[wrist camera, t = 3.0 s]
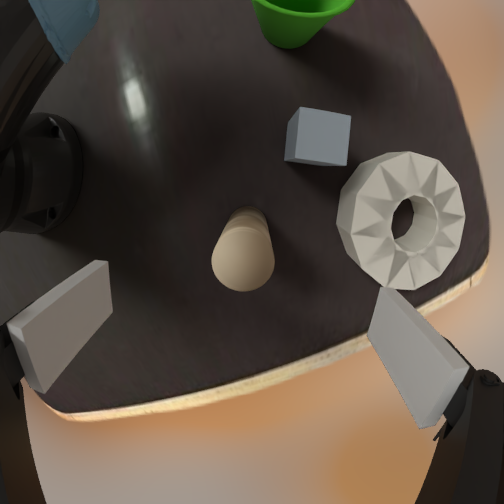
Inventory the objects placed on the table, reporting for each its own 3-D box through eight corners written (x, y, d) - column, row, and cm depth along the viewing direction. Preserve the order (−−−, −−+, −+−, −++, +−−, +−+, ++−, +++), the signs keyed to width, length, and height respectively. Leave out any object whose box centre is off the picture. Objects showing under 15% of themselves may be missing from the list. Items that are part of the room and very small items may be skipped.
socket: (328, 267, 31) (340, 285, 26) (345, 143, 27) (362, 139, 23) (426, 276, 31) (447, 291, 27) (446, 169, 28) (471, 171, 23)
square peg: (284, 160, 28) (294, 158, 20) (287, 122, 27) (299, 106, 19) (322, 166, 28) (346, 165, 20) (326, 128, 27) (350, 116, 19)
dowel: (226, 242, 30) (210, 288, 19) (229, 204, 29) (213, 228, 18) (264, 245, 31) (270, 293, 19) (269, 208, 29) (278, 234, 18)
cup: (338, 60, 25) (375, 16, 14) (255, 72, 25) (255, 24, 15) (313, -3, 22) (334, -57, 12) (235, 8, 23) (227, -50, 12)
